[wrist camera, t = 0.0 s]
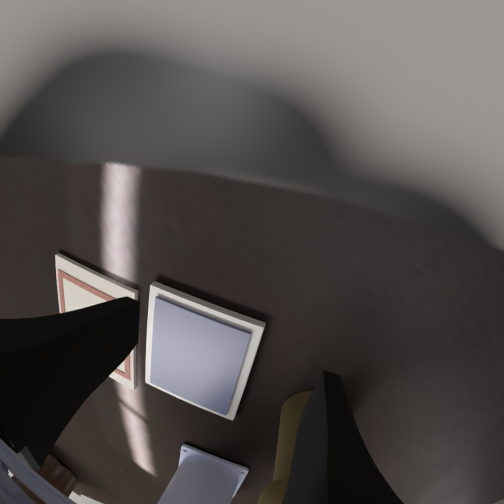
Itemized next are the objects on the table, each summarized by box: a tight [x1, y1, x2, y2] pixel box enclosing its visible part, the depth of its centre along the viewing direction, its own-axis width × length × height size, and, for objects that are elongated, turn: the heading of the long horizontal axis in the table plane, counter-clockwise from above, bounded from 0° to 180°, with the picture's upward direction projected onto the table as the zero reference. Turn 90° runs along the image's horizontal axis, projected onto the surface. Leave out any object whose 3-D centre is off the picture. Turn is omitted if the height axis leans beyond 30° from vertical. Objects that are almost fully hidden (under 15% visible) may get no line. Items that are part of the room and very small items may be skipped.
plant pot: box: [11, 454, 78, 504], centre depth 46 cm, size 16×16×16 cm
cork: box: [258, 390, 313, 504], centre depth 18 cm, size 6×6×11 cm
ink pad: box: [145, 281, 266, 420], centre depth 24 cm, size 11×9×1 cm
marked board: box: [55, 253, 138, 390], centre depth 27 cm, size 12×10×1 cm
